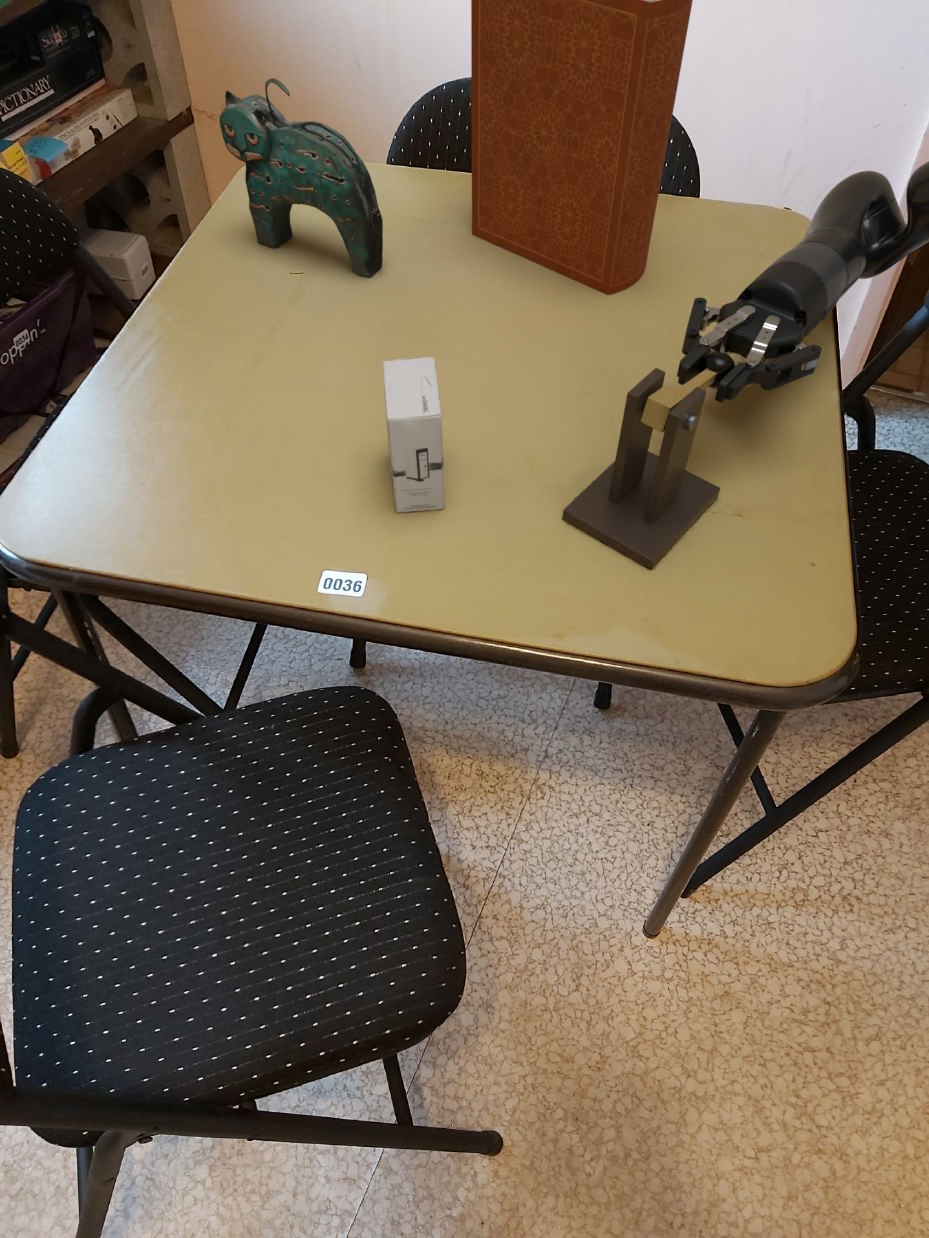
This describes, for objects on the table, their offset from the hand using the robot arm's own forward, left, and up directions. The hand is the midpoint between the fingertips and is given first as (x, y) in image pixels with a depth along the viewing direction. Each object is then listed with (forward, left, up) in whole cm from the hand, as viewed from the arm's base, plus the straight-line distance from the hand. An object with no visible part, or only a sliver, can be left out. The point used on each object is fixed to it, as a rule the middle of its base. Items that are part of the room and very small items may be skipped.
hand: (701, 385), depth 76 cm
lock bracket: (0, +7, -10) cm, 12 cm away
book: (+33, -25, -10) cm, 43 cm away
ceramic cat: (+57, -5, -10) cm, 58 cm away
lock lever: (0, +2, -1) cm, 2 cm away
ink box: (+19, +18, -10) cm, 28 cm away
